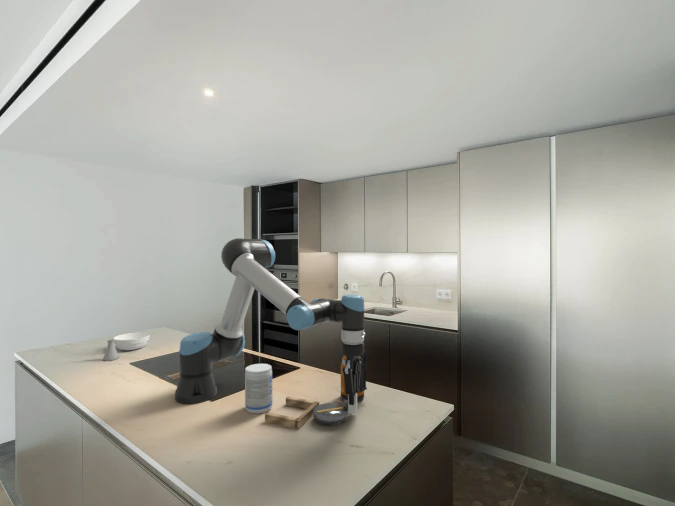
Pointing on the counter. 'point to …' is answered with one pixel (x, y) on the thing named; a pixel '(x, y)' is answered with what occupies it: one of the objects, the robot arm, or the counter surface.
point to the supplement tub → (258, 388)
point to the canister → (362, 378)
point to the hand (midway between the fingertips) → (352, 413)
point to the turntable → (331, 413)
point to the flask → (110, 351)
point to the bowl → (131, 341)
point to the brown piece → (291, 420)
